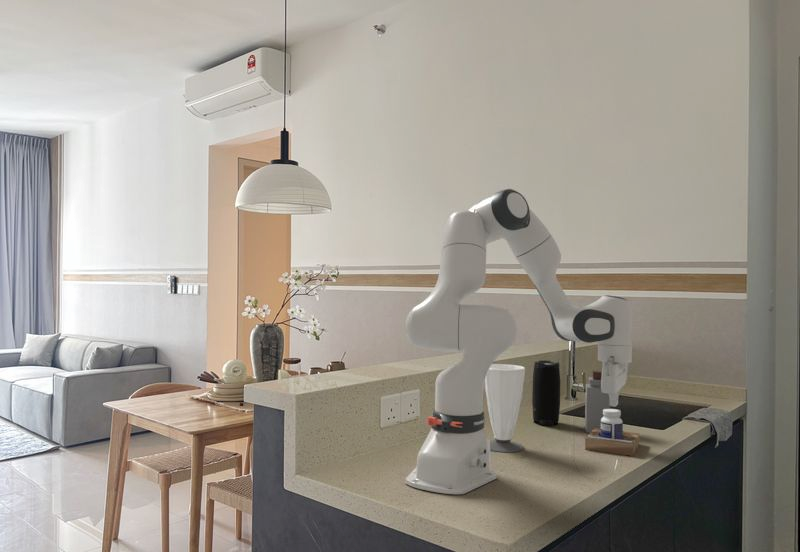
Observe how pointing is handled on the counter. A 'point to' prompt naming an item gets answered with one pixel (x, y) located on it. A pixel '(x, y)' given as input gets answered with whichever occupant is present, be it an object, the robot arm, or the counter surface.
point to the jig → (612, 443)
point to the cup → (504, 404)
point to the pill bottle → (612, 424)
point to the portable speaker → (546, 392)
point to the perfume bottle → (595, 402)
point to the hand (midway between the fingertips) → (613, 405)
